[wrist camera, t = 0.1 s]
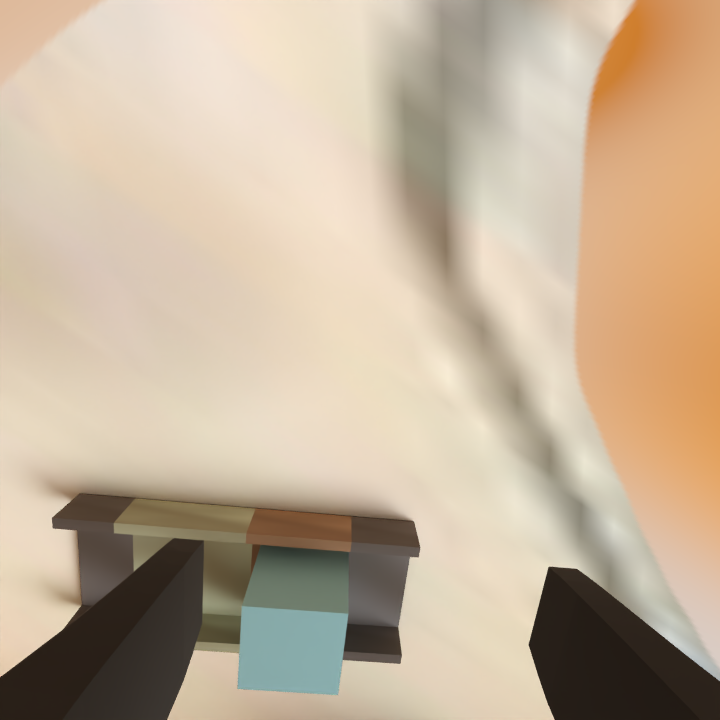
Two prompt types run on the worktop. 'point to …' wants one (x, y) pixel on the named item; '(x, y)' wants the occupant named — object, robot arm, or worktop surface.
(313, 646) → the teal block
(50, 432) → the worktop surface
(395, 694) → the worktop surface
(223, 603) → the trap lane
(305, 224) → the worktop surface
